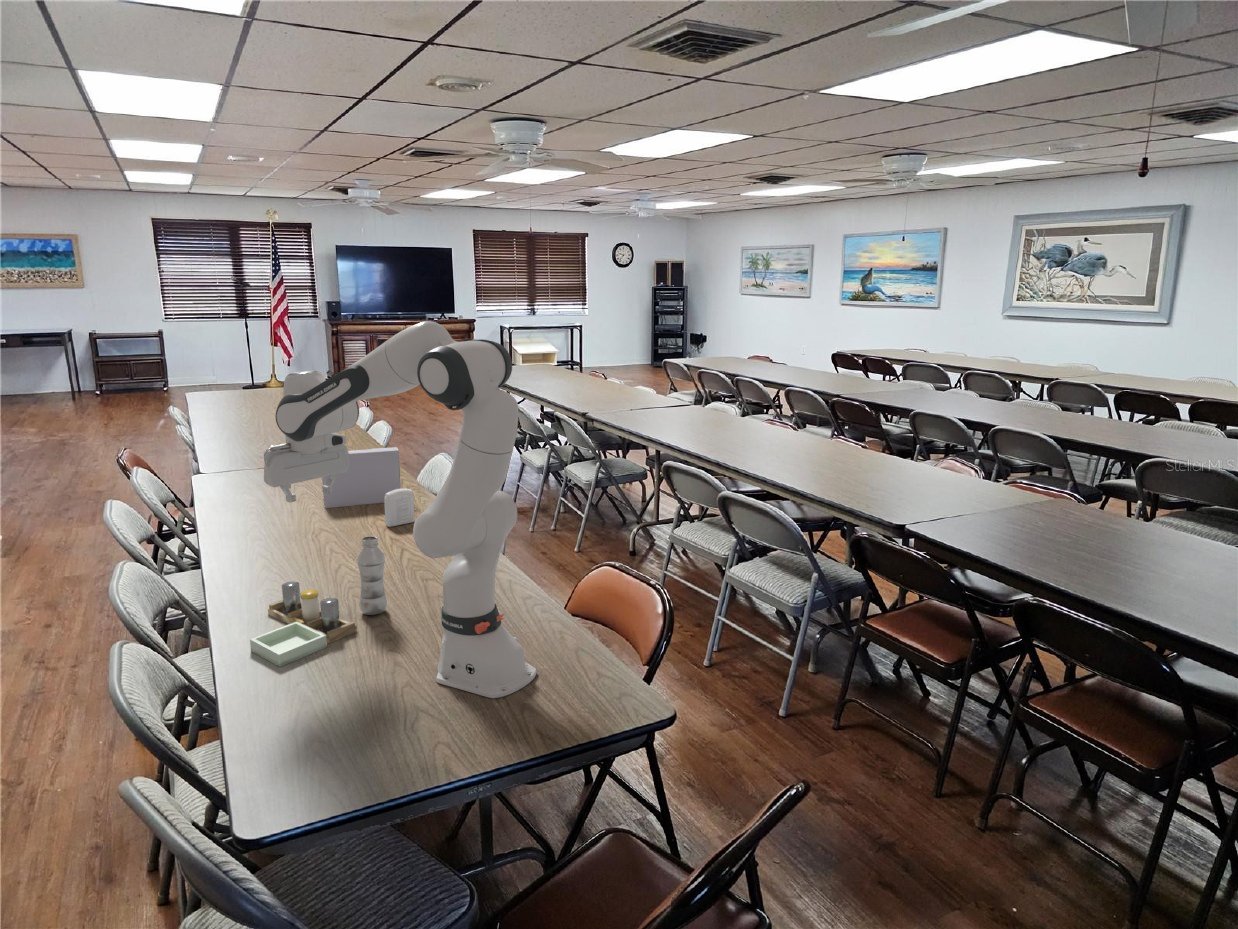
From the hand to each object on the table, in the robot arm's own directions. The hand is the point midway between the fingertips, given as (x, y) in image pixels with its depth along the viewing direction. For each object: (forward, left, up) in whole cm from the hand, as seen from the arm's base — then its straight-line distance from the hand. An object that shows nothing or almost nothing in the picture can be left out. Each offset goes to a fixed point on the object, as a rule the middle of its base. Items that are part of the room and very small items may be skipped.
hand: (309, 497), depth 178 cm
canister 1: (+9, +1, -32) cm, 34 cm away
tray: (-7, +12, -32) cm, 35 cm away
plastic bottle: (-6, -12, -33) cm, 35 cm away
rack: (+1, +1, -32) cm, 32 cm away
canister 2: (-7, +1, -32) cm, 33 cm away
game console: (+75, -69, -33) cm, 107 cm away
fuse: (+1, +1, -32) cm, 32 cm away
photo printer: (+45, -62, -33) cm, 84 cm away
